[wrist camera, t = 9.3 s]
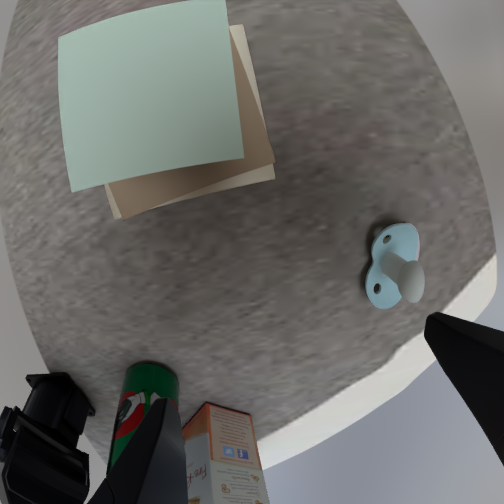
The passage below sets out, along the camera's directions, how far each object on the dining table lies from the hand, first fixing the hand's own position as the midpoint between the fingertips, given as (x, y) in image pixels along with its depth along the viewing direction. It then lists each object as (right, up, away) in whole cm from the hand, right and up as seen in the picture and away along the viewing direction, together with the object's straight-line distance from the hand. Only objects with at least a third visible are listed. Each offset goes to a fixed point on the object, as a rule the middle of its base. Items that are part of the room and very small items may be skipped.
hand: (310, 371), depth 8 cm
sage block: (-6, +10, +3) cm, 12 cm away
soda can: (-11, -8, +15) cm, 21 cm away
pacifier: (+10, +3, +15) cm, 18 cm away
